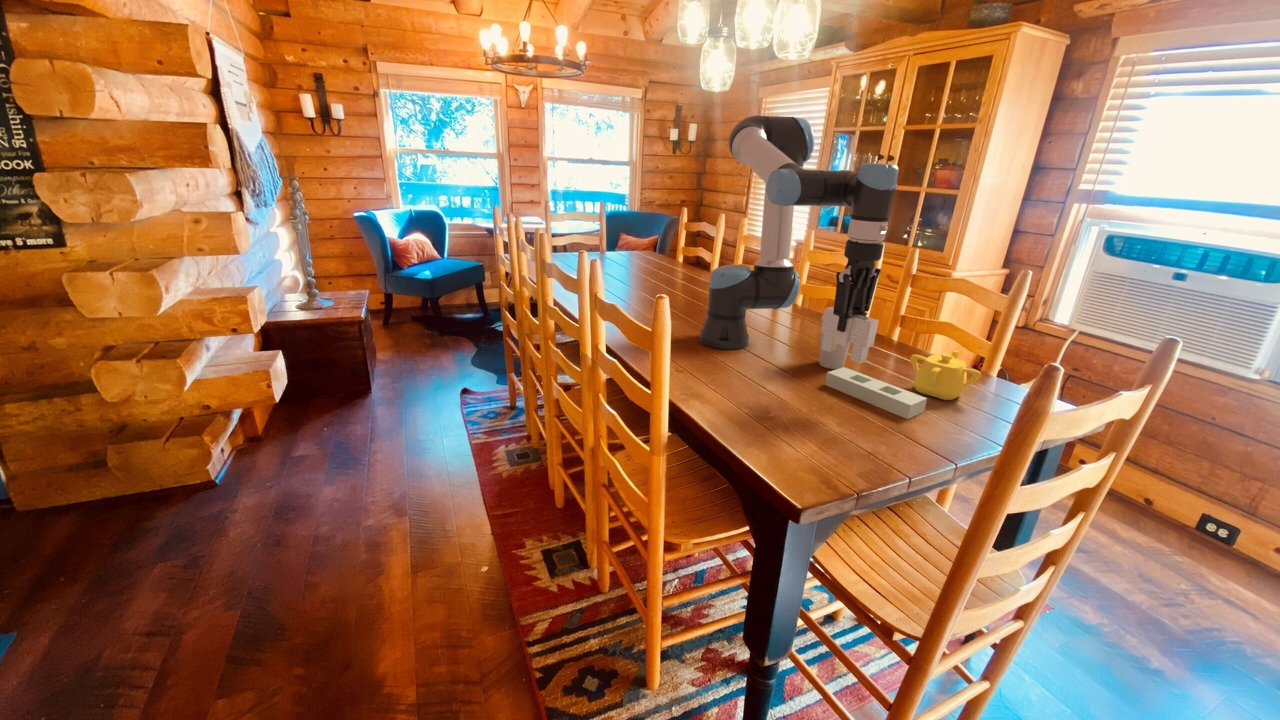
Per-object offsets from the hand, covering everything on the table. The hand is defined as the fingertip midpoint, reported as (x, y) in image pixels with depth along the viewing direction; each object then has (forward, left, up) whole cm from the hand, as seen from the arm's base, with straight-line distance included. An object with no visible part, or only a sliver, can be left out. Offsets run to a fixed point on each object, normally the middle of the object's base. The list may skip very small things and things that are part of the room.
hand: (845, 342), depth 121 cm
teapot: (+11, +27, -15) cm, 33 cm away
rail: (+4, +9, -15) cm, 18 cm away
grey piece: (0, 0, -3) cm, 3 cm away
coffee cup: (-15, +19, -15) cm, 28 cm away
